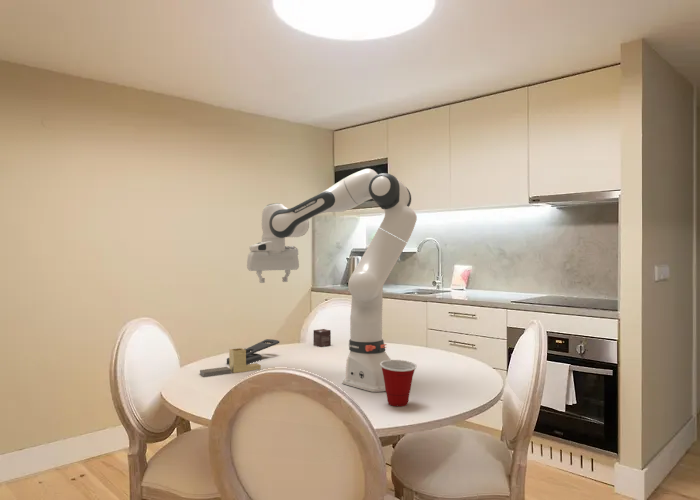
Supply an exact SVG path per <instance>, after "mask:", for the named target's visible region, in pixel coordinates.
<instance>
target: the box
mask: <svg viewBox="0 0 700 500" xmlns="http://www.w3.org/2000/svg"><path fill="white" fill-rule="evenodd" d="M331 332H332V331H331V329H327V328H326V329H325V328H320V329H313V344H312V345H313V346H314V347H318V348H322V347H328V346H331V345H332V344H331V338H332V337H331V334H332V333H331Z"/></svg>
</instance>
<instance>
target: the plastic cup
mask: <svg viewBox="0 0 700 500" xmlns="http://www.w3.org/2000/svg"><path fill="white" fill-rule="evenodd" d="M380 365H381V367H382V371H383V376H384V383H385V389H386V391H385V393H386V399H387V404H388V406H389V405H390V406H393V407H405V406H407V405H408V403H409V398H410V394H411V388H412V383H413V376H414V373H415V370H416V369H417V367H418V366H417V364H415V363H414V362H412V361H407V360H403V359H402V360H401V359H391V360H386V361H382V362H381V363H380Z"/></svg>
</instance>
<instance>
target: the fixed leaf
mask: <svg viewBox="0 0 700 500" xmlns="http://www.w3.org/2000/svg"><path fill="white" fill-rule="evenodd" d="M231 373H232V372H231V369H229V367H227V366H223V367H221V366H220V367H215V368H207V369H206V368H205V369H200V370H199V375H200V376H202V377H203V378H207V377H213V376H222V375H230V374H231Z"/></svg>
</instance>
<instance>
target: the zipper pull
mask: <svg viewBox="0 0 700 500" xmlns="http://www.w3.org/2000/svg"><path fill="white" fill-rule="evenodd" d="M279 344H280V340H277V339H271V338H270V339H267V338H266V339H264V340H262V341H260V342H257V343H256V344H254V345H251V346H249V347H247V348H244V349H245V350H246V365H247V364H250V363H251V364H254V363H257V362H260V361H261V360H262V355H261V354H260V353H257V352H260V351H263V350H265V349H269V348H271V347H273V346H276V345H279ZM259 360H260V361H259ZM256 361H257V362H256ZM253 362H254V363H253ZM228 364H229V357H227V358H226V365H228Z"/></svg>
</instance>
